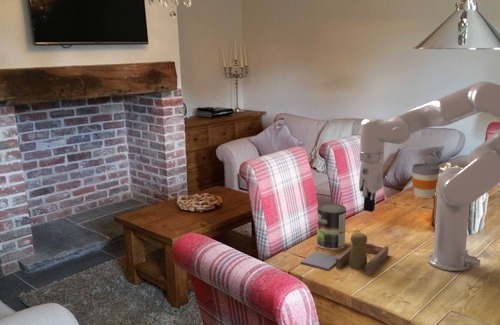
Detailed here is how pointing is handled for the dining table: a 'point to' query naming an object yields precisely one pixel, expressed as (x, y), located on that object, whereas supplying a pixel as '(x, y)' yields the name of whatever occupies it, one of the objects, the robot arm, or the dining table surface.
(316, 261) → the coaster
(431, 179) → the reusable coffee cup
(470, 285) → the dining table surface
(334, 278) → the dining table surface
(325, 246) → the coffee can
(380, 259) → the brown u-shaped frame
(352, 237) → the tan hourglass shape
